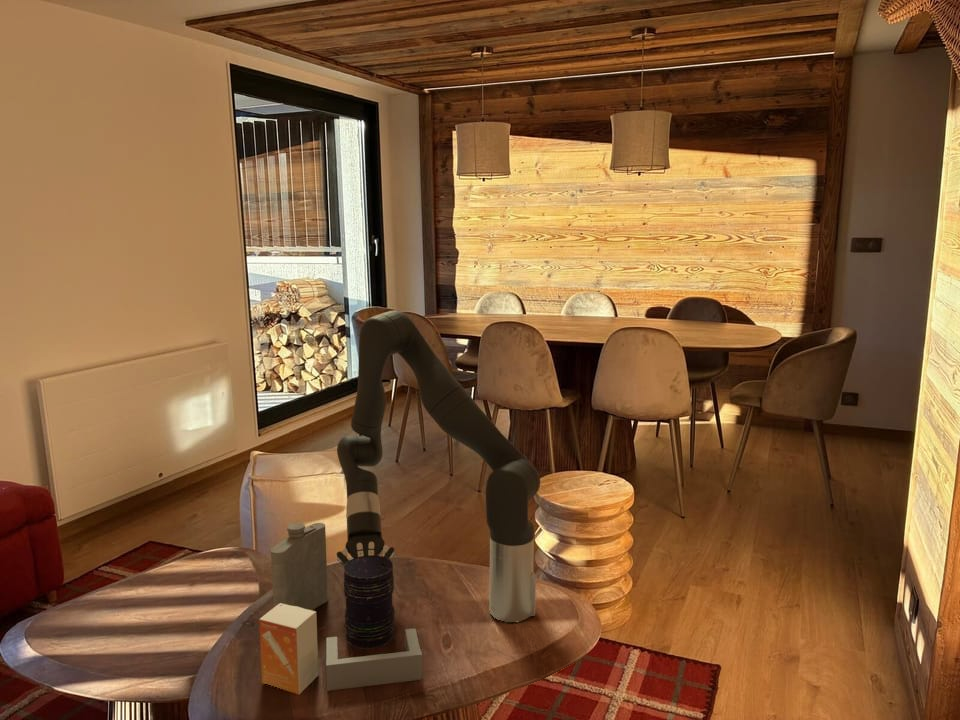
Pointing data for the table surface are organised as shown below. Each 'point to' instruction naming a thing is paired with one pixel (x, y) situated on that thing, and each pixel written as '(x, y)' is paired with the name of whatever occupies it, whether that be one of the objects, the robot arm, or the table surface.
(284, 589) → the hip flask
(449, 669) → the table surface
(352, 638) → the black ribbed barrel
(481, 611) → the table surface
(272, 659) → the small box
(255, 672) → the table surface
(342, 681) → the grey u-shaped frame
